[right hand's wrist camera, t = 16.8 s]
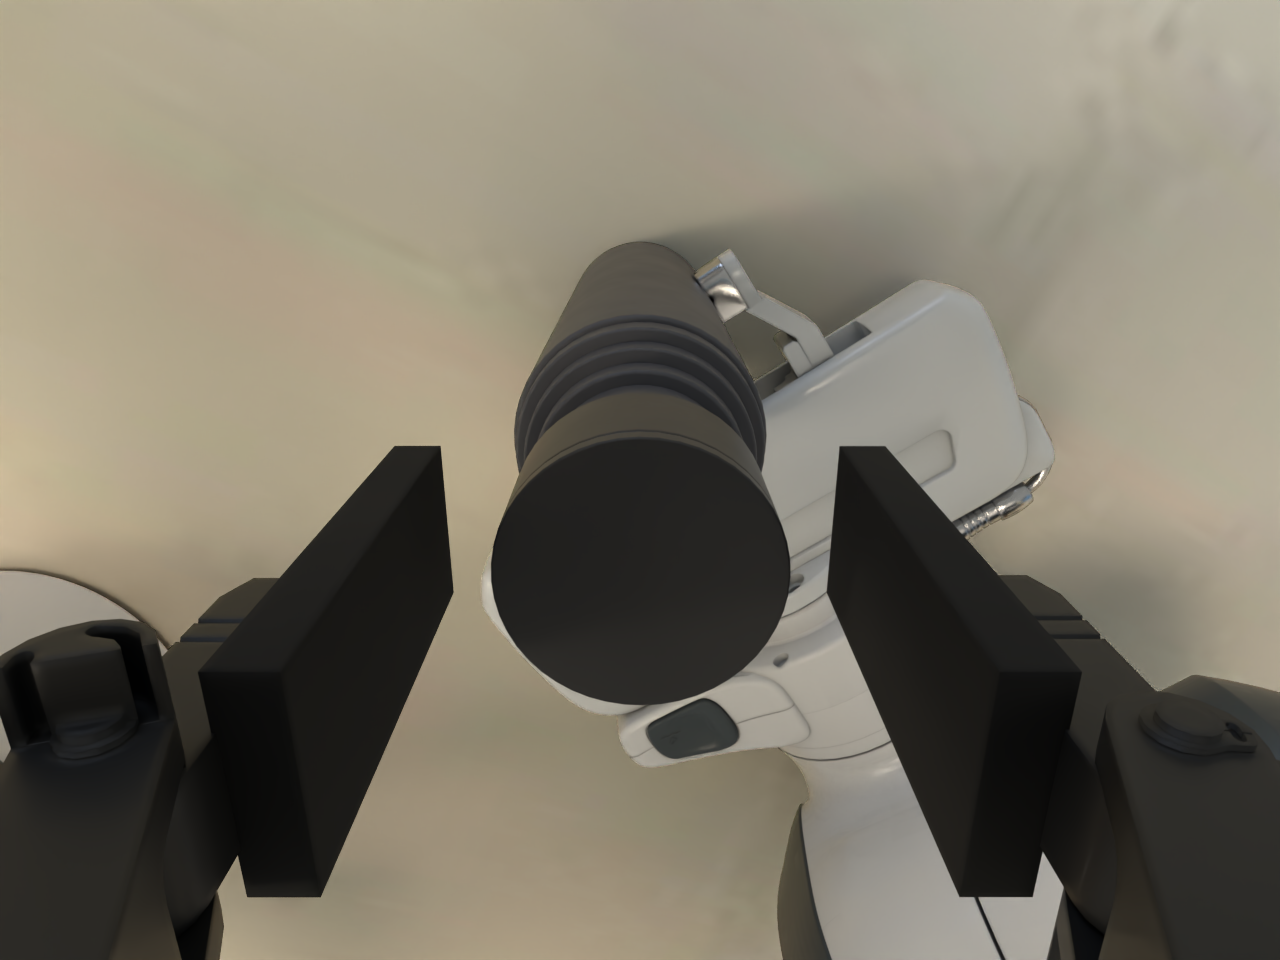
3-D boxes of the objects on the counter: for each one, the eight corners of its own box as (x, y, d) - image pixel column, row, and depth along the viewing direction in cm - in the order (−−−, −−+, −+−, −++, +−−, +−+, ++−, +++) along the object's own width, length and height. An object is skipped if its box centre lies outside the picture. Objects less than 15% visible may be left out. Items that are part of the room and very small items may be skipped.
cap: (726, 646, 15) (741, 731, 13) (493, 595, 15) (466, 673, 13) (800, 426, 14) (832, 478, 12) (542, 363, 13) (522, 403, 11)
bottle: (562, 360, 35) (434, 683, 13) (587, 228, 33) (488, 348, 11) (689, 388, 36) (767, 745, 14) (721, 258, 34) (872, 432, 12)
